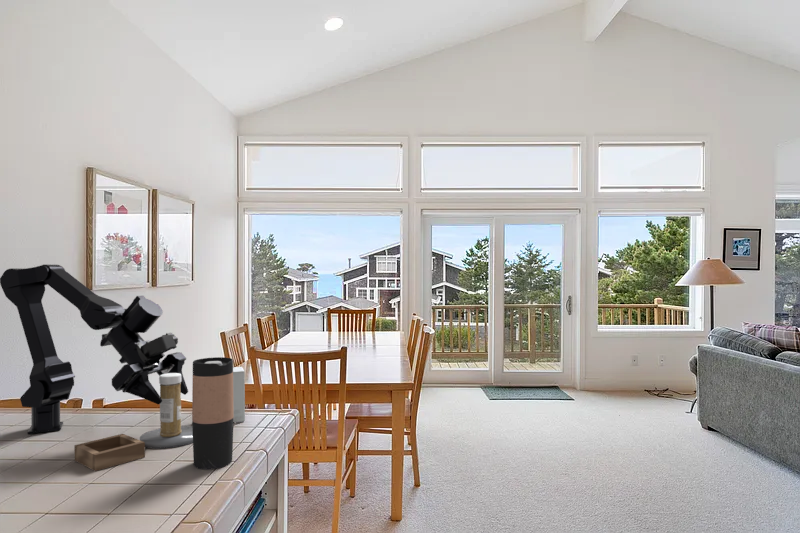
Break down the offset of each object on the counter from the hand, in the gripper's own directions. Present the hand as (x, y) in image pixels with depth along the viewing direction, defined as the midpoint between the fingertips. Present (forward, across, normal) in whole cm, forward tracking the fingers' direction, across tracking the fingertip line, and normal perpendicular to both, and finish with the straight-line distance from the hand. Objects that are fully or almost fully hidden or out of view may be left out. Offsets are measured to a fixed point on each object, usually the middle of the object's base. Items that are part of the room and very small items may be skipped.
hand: (174, 397), depth 120 cm
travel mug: (+18, -11, -5) cm, 22 cm away
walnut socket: (+3, -14, +10) cm, 17 cm away
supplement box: (+9, +17, +4) cm, 20 cm away
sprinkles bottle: (+5, 0, +6) cm, 8 cm away
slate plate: (+6, 0, +7) cm, 9 cm away
